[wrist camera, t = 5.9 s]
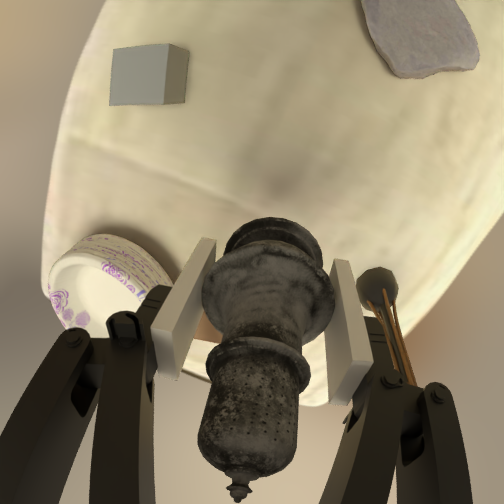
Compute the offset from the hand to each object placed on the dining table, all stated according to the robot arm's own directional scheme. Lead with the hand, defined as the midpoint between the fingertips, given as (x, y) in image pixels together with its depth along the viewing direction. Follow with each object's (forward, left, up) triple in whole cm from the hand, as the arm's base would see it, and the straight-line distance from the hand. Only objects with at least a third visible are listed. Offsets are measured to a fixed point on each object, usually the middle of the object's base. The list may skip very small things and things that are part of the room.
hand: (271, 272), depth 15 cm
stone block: (-9, -19, -15) cm, 26 cm away
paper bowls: (+16, +13, -14) cm, 25 cm away
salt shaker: (0, 0, -1) cm, 1 cm away
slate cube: (+12, -10, -14) cm, 21 cm away
